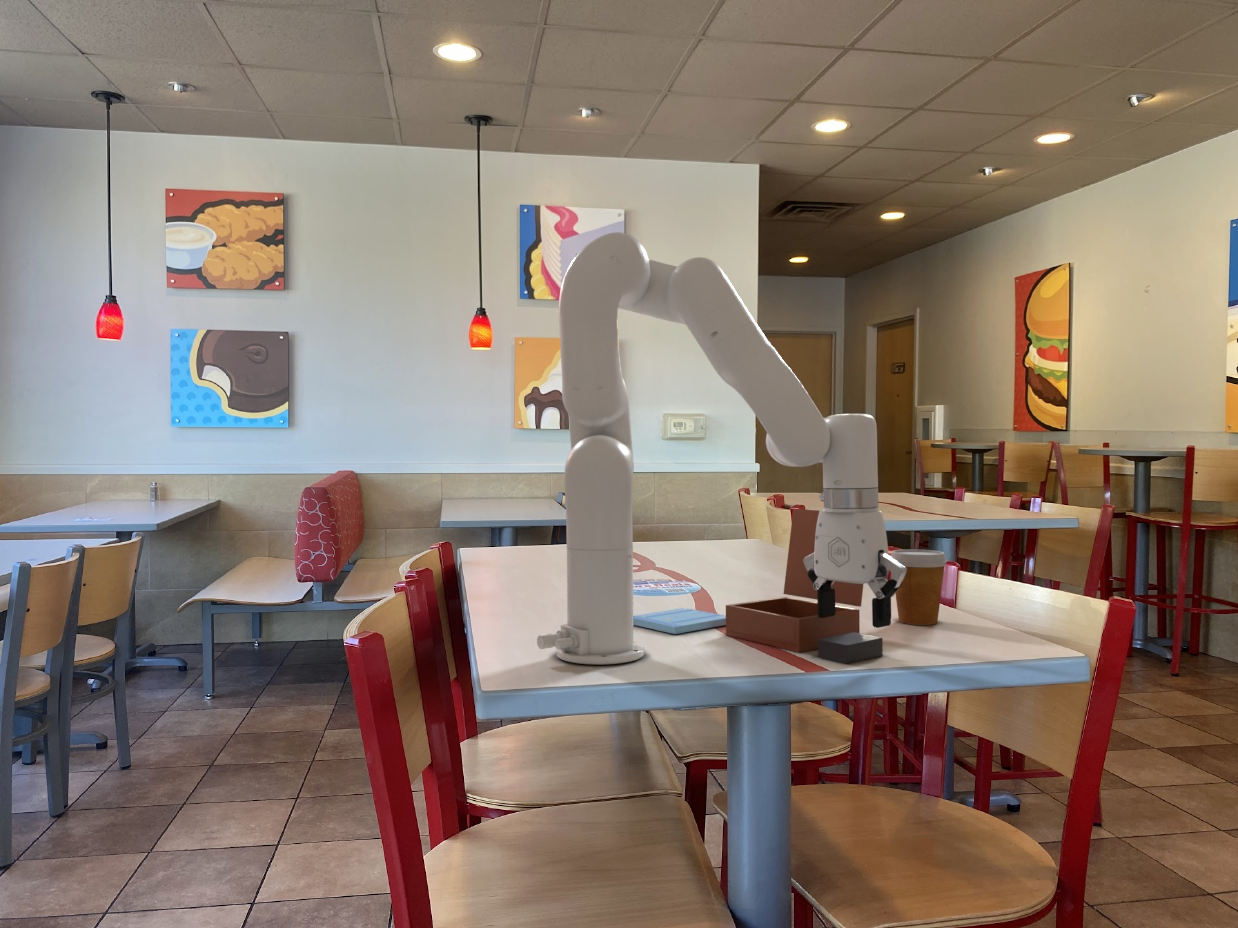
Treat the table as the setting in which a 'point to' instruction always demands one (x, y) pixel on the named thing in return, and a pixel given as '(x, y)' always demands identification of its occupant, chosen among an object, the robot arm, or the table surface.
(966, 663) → the table surface
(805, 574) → the cover
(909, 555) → the disposable coffee cup
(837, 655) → the dark grey block
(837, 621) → the flip case
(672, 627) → the light blue flat block
